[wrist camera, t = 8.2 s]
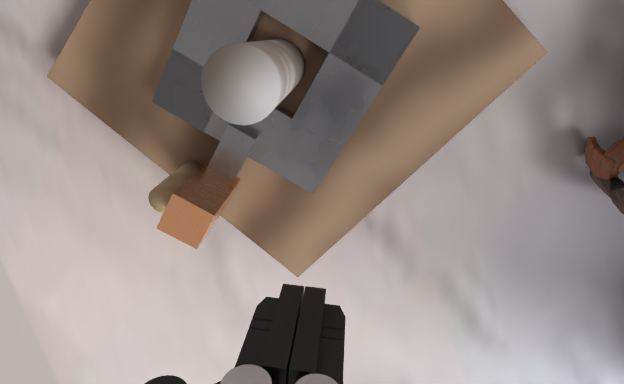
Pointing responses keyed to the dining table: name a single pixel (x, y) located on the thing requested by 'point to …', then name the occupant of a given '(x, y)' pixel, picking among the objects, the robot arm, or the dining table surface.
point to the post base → (294, 106)
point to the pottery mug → (607, 168)
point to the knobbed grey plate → (279, 123)
